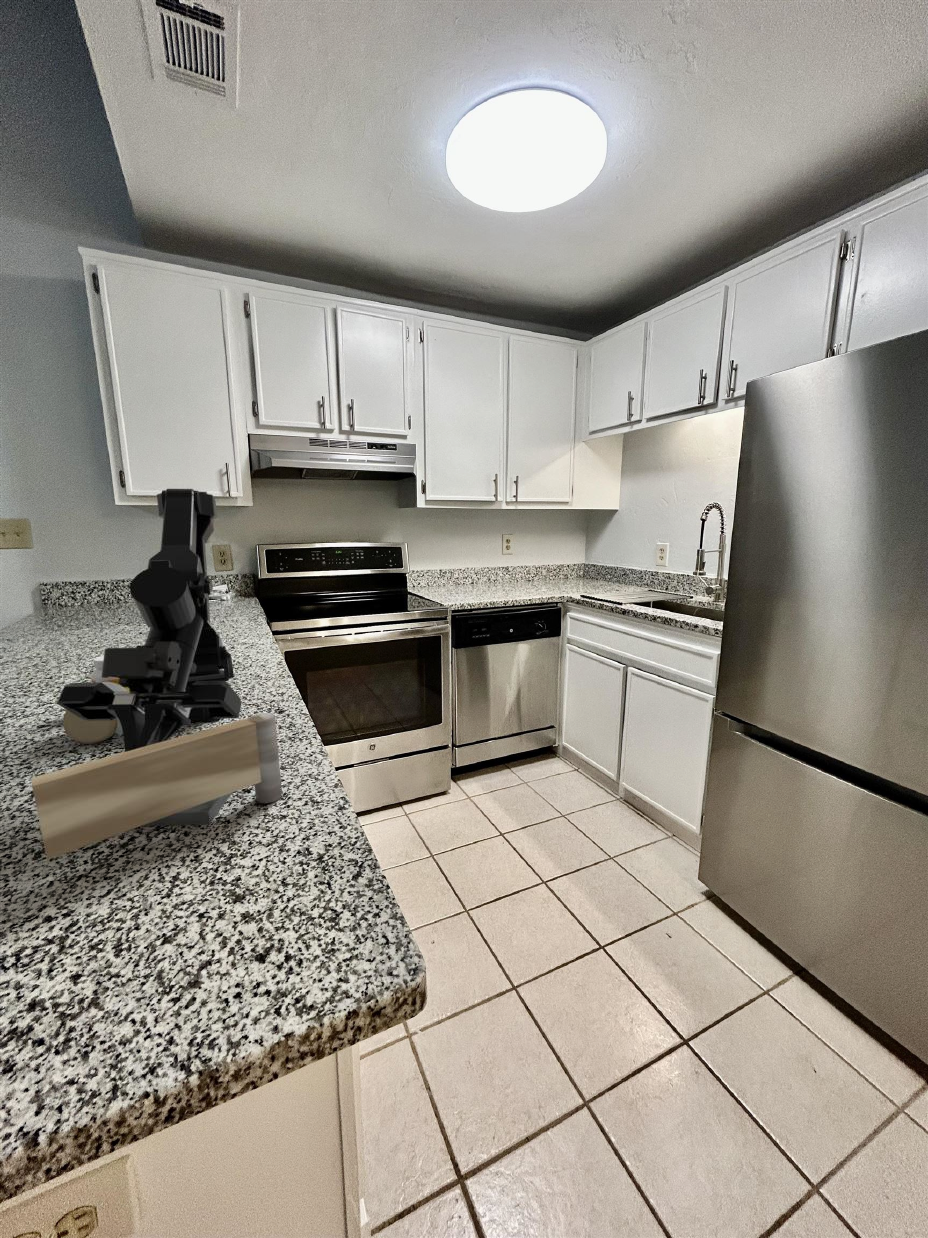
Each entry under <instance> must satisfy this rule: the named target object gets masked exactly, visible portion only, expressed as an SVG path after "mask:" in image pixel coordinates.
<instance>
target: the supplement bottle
mask: <svg viewBox="0 0 928 1238" xmlns="http://www.w3.org/2000/svg"><path fill="white" fill-rule="evenodd" d="M103 660H104V655H102V656H97V657H95V658H93V659H92V661H93V667H94V668H95V670H94V671H92V673H91V675H90V680H91V683H94V682H111V683H115V684H118V685H120V684H119V683H118V682H119V679H120V678H116V677H108V678H103V677H101V676H102V668H103ZM120 686H121V685H120ZM122 687H123V686H122ZM123 688H125V689H126V690H127V691H129V688H128V687H123Z"/></svg>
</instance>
